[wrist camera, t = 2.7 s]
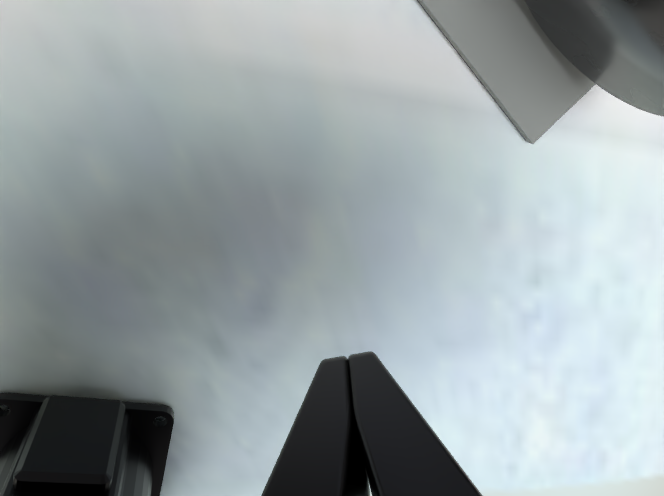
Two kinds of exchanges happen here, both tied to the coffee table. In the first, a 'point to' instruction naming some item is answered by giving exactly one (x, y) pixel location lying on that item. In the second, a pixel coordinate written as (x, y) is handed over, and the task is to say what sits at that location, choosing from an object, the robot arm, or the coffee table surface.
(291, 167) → the coffee table surface
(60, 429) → the robot arm
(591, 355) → the coffee table surface
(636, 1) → the plunger
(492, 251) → the coffee table surface
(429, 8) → the mat
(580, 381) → the coffee table surface
